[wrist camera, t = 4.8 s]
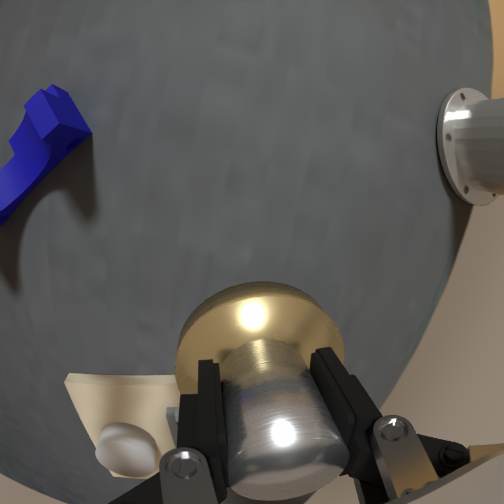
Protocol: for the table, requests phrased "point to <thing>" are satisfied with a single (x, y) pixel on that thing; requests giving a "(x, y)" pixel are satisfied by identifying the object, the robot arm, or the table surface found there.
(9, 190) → the cable clip
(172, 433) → the carrier plate
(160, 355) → the table surface
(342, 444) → the gold and silver knob
